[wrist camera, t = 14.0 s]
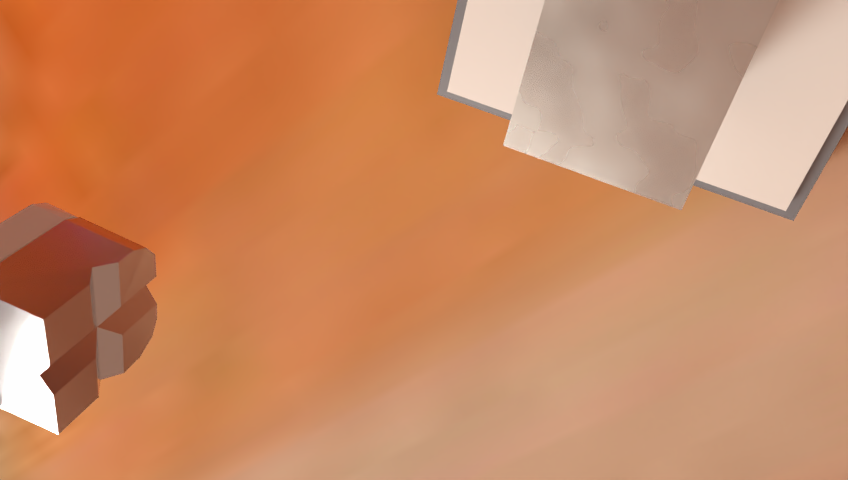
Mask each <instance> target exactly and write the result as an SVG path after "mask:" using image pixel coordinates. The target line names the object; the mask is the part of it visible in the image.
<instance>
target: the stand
mask: <svg viewBox="0 0 848 480" xmlns="http://www.w3.org/2000/svg"><path fill="white" fill-rule="evenodd" d="M544 1H545V0H458V1H457V6H456V10H455V15H454V20H453V24H452V29H451V33H450V38H449V42H448V47H447V52H446V56H445V61H444V65H443V70H442V74H441V79H440V84H439V88H438V93H437V94H438V95H440V96H443V97H446V98H449V99H452V100H455V101H457V102H460V103H463V104H466V105H469V106H471V107H474V108H477V109H480V110H483V111H486V112H488V113H491V114H494V115H497V116H500V117H502V118H505V119H508V120H511V116H512V113H513V110H514V106H515V103H516V99H517V96H518V92H519V89H520V85H521V82H522V78H523V75H524V71H525V68H526V64H527V61H528V57H529V54H530V50H531V47H532V43H533V40H534V36H535V33H536V29H537V26H538V22H539V19H540V15H541V12H542V8H543V5H544ZM847 126H848V0H779V2H778V4H777V6H776V8H775V10H774V12H773V15H772V17H771V19H770V21H769V23H768V25H767V27H766V30H765V32H764V34H763V36H762V38H761V40H760V42H759V45H758V47H757V49H756V51H755V53H754V55H753V58H752V60H751V62H750V64H749V66H748V68H747V70H746V73H745V75H744V77H743V79H742V81H741V83H740V85H739V88H738V90H737V92H736V94H735V96H734V98H733V101H732V103H731V105H730V107H729V109H728V111H727V113H726V116H725V118H724V120H723V122H722V124H721V126H720V128H719V131H718V133H717V135H716V137H715V139H714V141H713V144H712V146H711V148H710V150H709V152H708V154H707V156H706V159H705V161H704V163H703V165H702V167H701V169H700V171H699V174H698V176H697V178H696V180H695V182H694V184H693V185H694V186H697V187H700V188H703V189H705V190H708V191H711V192H714V193H717V194H719V195H722V196H725V197H728V198H731V199H734V200H736V201H739V202H742V203H745V204H748V205H750V206H753V207H756V208H759V209H762V210H765V211H767V212H770V213H773V214H776V215H779V216H781V217H784V218H787V219H790V220H793V221H794V219H795V217H796V216H797V214H798V212H799V210H800V209H801V207H802V205H803V203H804V202H805V200H806V198H807V196H808V195H809V193H810V191H811V189H812V188H813V186H814V184H815V182H816V181H817V179H818V177H819V175H820V174H821V172H822V170H823V168H824V167H825V165H826V163H827V161H828V160H829V158H830V156H831V154H832V153H833V151H834V149H835V147H836V146H837V144H838V142H839V140H840V139H841V137H842V135H843V133H844V132H845V130H846V128H847Z"/></svg>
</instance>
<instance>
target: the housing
mask: <svg viewBox="0 0 848 480" xmlns="http://www.w3.org/2000/svg"><path fill="white" fill-rule="evenodd" d="M778 2H779V0H545V1H544V5H543V8H542V12H541V15H540V19H539V22H538V26H537V29H536V33H535V36H534V40H533V43H532V47H531V50H530V54H529V57H528V61H527V64H526V68H525V71H524V75H523V78H522V82H521V85H520V89H519V92H518V96H517V99H516V103H515V106H514V110H513V113H512V116H511V120H510V123H509V127H508V130H507V134H506V137H505V141H504V144H503V146H506V147H509V148H512V149H514V150H517V151H520V152H523V153H525V154H528V155H531V156H534V157H536V158H539V159H542V160H545V161H547V162H550V163H553V164H556V165H558V166H561V167H564V168H567V169H569V170H572V171H575V172H578V173H580V174H583V175H586V176H589V177H591V178H594V179H597V180H600V181H602V182H605V183H608V184H611V185H613V186H616V187H619V188H622V189H624V190H627V191H630V192H633V193H635V194H638V195H641V196H644V197H646V198H649V199H652V200H655V201H657V202H660V203H663V204H666V205H668V206H671V207H674V208H677V209H679V210H682V208H683V206H684V204H685V202H686V199H687V197H688V195H689V193H690V191H691V189H692V186H693V184H694V182H695V180H696V178H697V176H698V174H699V171H700V169H701V167H702V165H703V163H704V161H705V159H706V156H707V154H708V152H709V150H710V148H711V146H712V144H713V141H714V139H715V137H716V135H717V133H718V131H719V128H720V126H721V124H722V122H723V120H724V118H725V116H726V113H727V111H728V109H729V107H730V105H731V103H732V101H733V98H734V96H735V94H736V92H737V90H738V88H739V85H740V83H741V81H742V79H743V77H744V75H745V73H746V70H747V68H748V66H749V64H750V62H751V60H752V58H753V55H754V53H755V51H756V49H757V47H758V45H759V42H760V40H761V38H762V36H763V34H764V32H765V30H766V27H767V25H768V23H769V21H770V19H771V17H772V15H773V12H774V10H775V8H776V6H777V4H778Z"/></svg>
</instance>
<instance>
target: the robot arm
mask: <svg viewBox="0 0 848 480" xmlns="http://www.w3.org/2000/svg"><path fill="white" fill-rule="evenodd" d="M155 277H156V262H155V254H154V253H152V252H151V251H150V250H148V249H147V248H145V247H143V246H141V245H139V244H137V243H135V242H132V241H130V240H128V239H126V238H124V237H122V236H119V235H117V234H115V233H113V232H111V231H109V230H106V229H104V228H102V227H100V226H98V225H96V224H93V223H91V222H89V221H87V220H85V219H83V218H80V217H76V216H74V215H72V214H70V213H68V212H66V211H63V210H61V209H59V208H57V207H55V206H53V205H51V204H48V203H40V204H32V205H30V206H28V207H27V208H25V209H23V210H22V211H20V212H18V213H17V214H15V215H13V216H12V217H10V218H8V219H7V220H5V221H3V222H2V223H0V408H2V409H4V410H6V411H8V412H11V413H13V414H15V415H17V416H19V417H21V418H24V419H26V420H28V421H30V422H32V423H34V424H37V425H39V426H41V427H43V428H45V429H47V430H50V431H52V432H54V433H56V434H59V433H60V432H61V431H63V430H64V429H65V428H66V427H67V426H68V425H69V424H70V423H71V422H72V421H73V420H74V419H75V418H76V417H78V416H79V415H80V414H81V413H82V412H83V411H84V410H85V409H86V408H87V407H88V406H89V405H90V404H91V403H92V402H94V401H95V400H96V399H97V398H98V396H99V388H100V380H101V379H105V378H108V377H111V376H115V375H118V374H122V373H124V372H125V371H126V370H127V369H128V368H129V367H130V366H131V365H132V364H133V363H134V362H135V361H136V360H137V359H138V358H139V357H140V356H141V354H142V353H143V351H144V349H145V348H146V346H147V344H148V343H149V341H150V339H151V338H152V335H153V331H154V328H155V324H156V320H157V303H156V302H155V300H154V298H153V297H152V295H151V293H150V291H149V290H148V288H147V286H146V285H147V284H148V283H149V282H150V281H151V280H152V279H154V278H155Z"/></svg>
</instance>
